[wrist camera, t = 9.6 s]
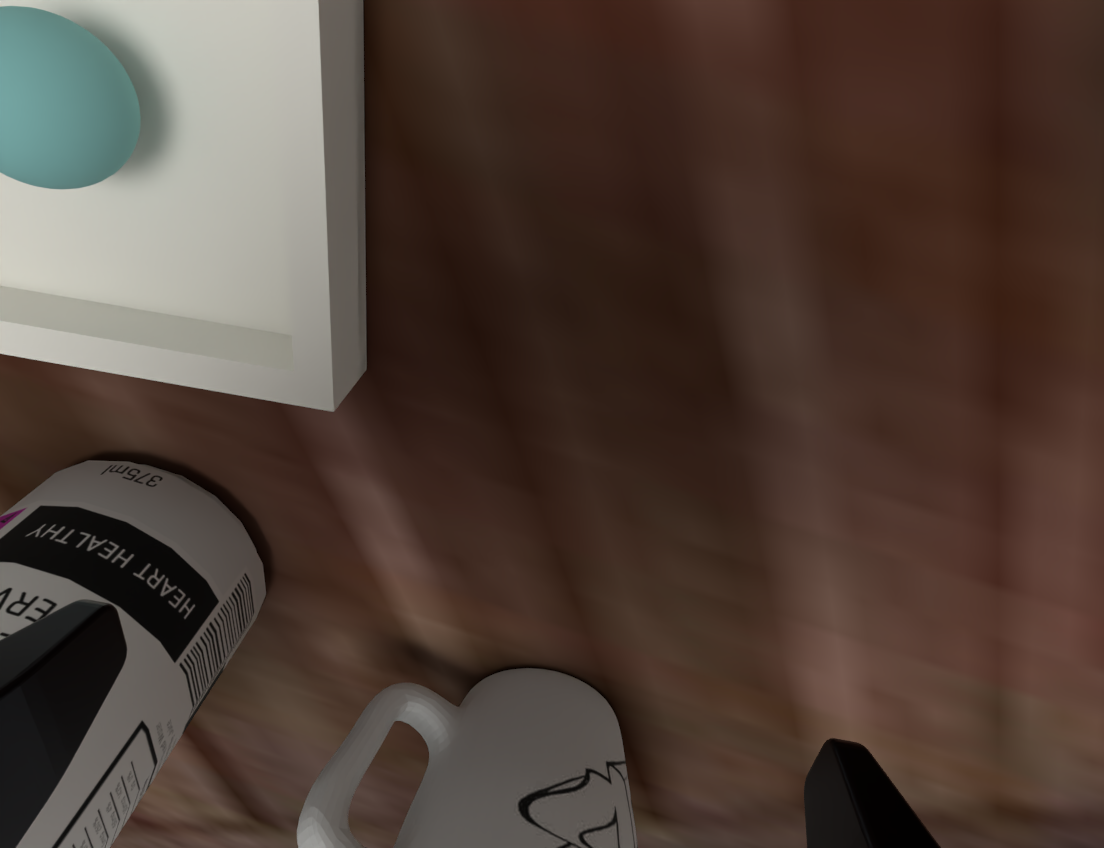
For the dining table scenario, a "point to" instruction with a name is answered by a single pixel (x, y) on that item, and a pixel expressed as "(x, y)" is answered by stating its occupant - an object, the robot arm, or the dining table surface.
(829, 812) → the robot arm
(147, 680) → the supplement can
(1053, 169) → the dining table surface
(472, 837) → the mug
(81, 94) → the ball
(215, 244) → the tray
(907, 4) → the dining table surface
